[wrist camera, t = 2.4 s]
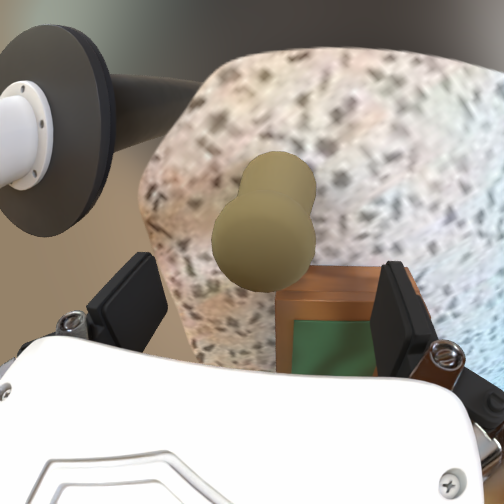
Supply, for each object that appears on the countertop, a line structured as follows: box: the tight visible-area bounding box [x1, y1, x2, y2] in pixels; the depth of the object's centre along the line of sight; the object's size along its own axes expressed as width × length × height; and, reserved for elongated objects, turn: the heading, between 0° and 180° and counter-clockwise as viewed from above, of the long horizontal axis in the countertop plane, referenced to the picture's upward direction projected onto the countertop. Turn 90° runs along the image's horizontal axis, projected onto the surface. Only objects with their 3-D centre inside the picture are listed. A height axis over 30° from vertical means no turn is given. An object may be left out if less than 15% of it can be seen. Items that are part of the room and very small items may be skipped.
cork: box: [211, 151, 316, 293], centre depth 18 cm, size 6×6×11 cm
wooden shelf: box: [275, 265, 431, 377], centre depth 27 cm, size 12×22×7 cm, turn 3°
